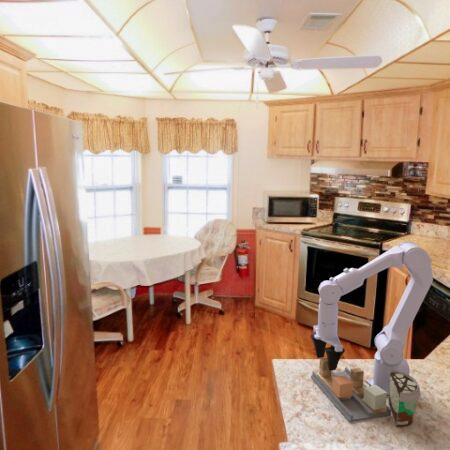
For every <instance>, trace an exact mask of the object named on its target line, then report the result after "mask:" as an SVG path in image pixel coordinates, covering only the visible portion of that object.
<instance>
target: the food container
mask: <svg viewBox="0 0 450 450" xmlns="http://www.w3.org/2000/svg"><path fill="white" fill-rule="evenodd" d="M389 376H390V381H389V395H388V404H387V406H388V407H389V408H390V409H391V416H392V419H393V422H394V425H395V427H396V428H407V427H409V426H411V425H412V424H413V422H414V416H415V411H416V405H417V400H418V399H419V398H420V397H421V387H420V385H419V382H418V381H417V380H416V379H415V377H412V376H411V375H410V374H409V375H408V374H405V373H403V372H400V371H396V370H390V373H389Z"/></svg>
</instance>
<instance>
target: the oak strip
mask: <svg viewBox="0 0 450 450" xmlns="http://www.w3.org/2000/svg"><path fill="white" fill-rule="evenodd" d="M318 371H319V373H316V374H317V375H318V376H319V378H320V379H321V380H322V381H323V382H324V383H325V384H326V385H327V387H328V388H329V389H330V390H331V391H332V379H333V377H334V376H333V375H332V374H331V372H332V370H329V368H328V359H327V357H323V358H319V369H318ZM332 392H333V391H332ZM333 393H334V392H333ZM334 395H335V396H336V397H337V398H338V399H339V400H346V399H351V397H344V398H339V397H338V396H337V395H336V394H335V393H334Z"/></svg>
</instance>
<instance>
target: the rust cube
mask: <svg viewBox="0 0 450 450" xmlns="http://www.w3.org/2000/svg"><path fill="white" fill-rule="evenodd" d="M352 390H353V383H352V382H351V381H350V380H349V379H348V378H347V377H346V376H337V377H333V379H332V391H333V392H334V393H335V394H336V395H337V396H338V397H339V398H344V397H351V396H352Z"/></svg>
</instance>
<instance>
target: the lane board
mask: <svg viewBox="0 0 450 450" xmlns="http://www.w3.org/2000/svg"><path fill="white" fill-rule="evenodd" d="M311 372H312V373H311V374H312V375H310V379H312V380H313V382H314V383H315V384H316V385H317V387H318V388H319V389H320V390H321V391H322V392H323V394H324V395H325V396H326V398H327V399H328V400H329V401H330V402H331V403H332V404H333V406H335V408H336V409H337V411H338V412H339V413H340V414H341V415H342V416H343V417H344V419H345V420H346V421H347V422H348V423H355V422H360V421H367V420H373V419H380V418H387V417H390V416H392V414H391V409H390V408H389V405H388V404H386V408H387V412H385V413H378V414H373V411H372V410H371V409H370V408H369V407H368V406H367V405H366V404H365V403H364V402H363V401H362V399H364V397H361V398H359V397H358V396H357V395H356V394H355V393H354V392H353V391H352V396H351V399H346V400H339V399H338V398H337V397H336V396H335V395H334V393H333V392H332V391H331V390H330V389H329V388H328V387H327V385H326V384H325V383H324V382H323V381H322V380H321V379H320V378H319V376H318V375H317V374H318V373H316V372H315V371H311ZM331 374H332V375H333V376H334V377H337V376H346V377H347V378H348V379H349V380H350V374H351V369H349V368H348V367H346V366H345V368H344V371H338V372H337V371H336V372H335V370H332V372H331ZM363 386H364V387H365V388H366V387H368V386H367V385H366V384H365V383H364V382H363Z"/></svg>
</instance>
